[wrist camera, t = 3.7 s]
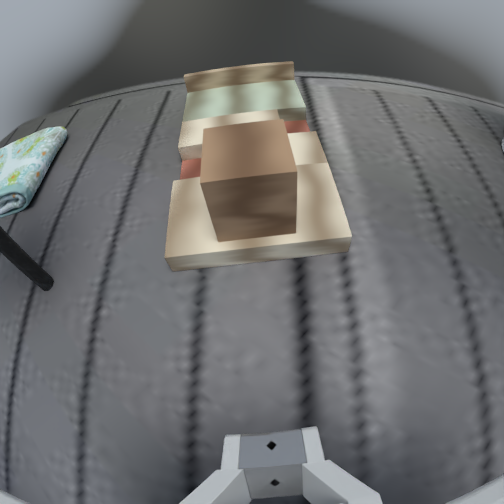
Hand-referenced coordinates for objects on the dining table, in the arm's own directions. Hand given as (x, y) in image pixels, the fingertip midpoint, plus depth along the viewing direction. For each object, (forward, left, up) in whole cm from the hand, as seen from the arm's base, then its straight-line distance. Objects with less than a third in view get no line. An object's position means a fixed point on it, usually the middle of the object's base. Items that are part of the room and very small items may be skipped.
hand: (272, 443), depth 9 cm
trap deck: (0, -32, -14) cm, 35 cm away
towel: (+43, -38, -15) cm, 59 cm away
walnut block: (0, -20, -12) cm, 24 cm away
